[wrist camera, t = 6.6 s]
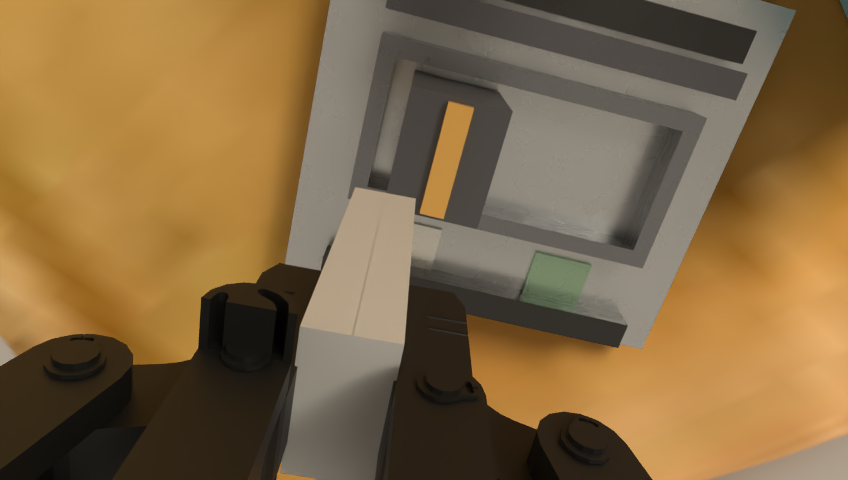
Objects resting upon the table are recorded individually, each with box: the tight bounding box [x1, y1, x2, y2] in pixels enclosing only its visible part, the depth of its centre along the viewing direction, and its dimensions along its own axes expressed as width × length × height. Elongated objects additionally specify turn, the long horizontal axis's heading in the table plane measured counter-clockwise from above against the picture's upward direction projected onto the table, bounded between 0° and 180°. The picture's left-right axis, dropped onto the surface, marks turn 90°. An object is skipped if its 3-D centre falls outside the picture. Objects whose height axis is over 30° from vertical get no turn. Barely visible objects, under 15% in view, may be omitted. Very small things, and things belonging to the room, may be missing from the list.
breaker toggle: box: [386, 70, 513, 229], centre depth 26 cm, size 5×4×5 cm
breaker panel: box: [285, 0, 797, 349], centre depth 29 cm, size 18×20×4 cm
